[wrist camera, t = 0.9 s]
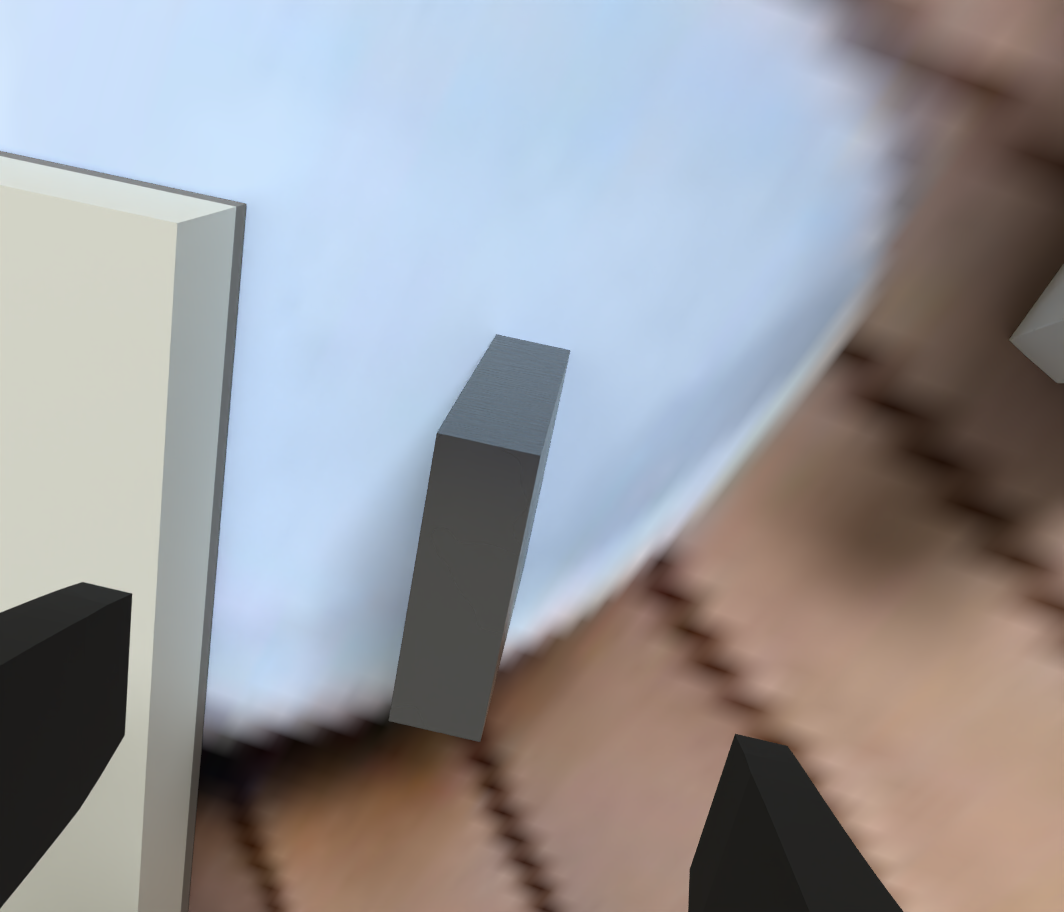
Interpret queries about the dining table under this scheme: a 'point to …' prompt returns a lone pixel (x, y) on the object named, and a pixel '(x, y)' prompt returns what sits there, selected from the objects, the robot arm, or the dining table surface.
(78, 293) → the post foot
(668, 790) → the dining table surface
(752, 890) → the robot arm
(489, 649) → the metal block
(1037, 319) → the grey and black device
